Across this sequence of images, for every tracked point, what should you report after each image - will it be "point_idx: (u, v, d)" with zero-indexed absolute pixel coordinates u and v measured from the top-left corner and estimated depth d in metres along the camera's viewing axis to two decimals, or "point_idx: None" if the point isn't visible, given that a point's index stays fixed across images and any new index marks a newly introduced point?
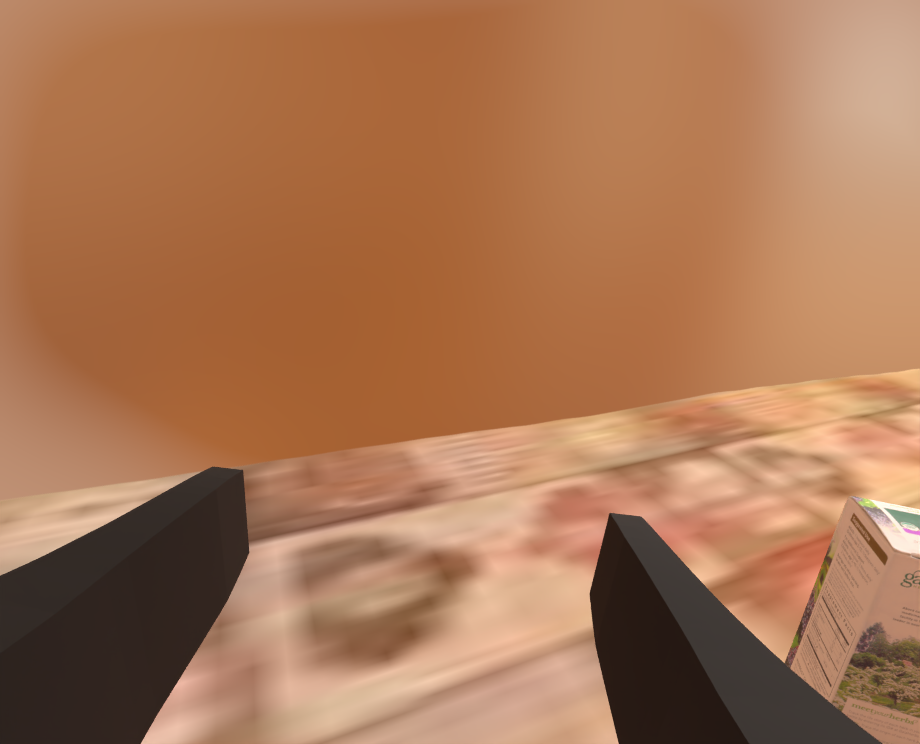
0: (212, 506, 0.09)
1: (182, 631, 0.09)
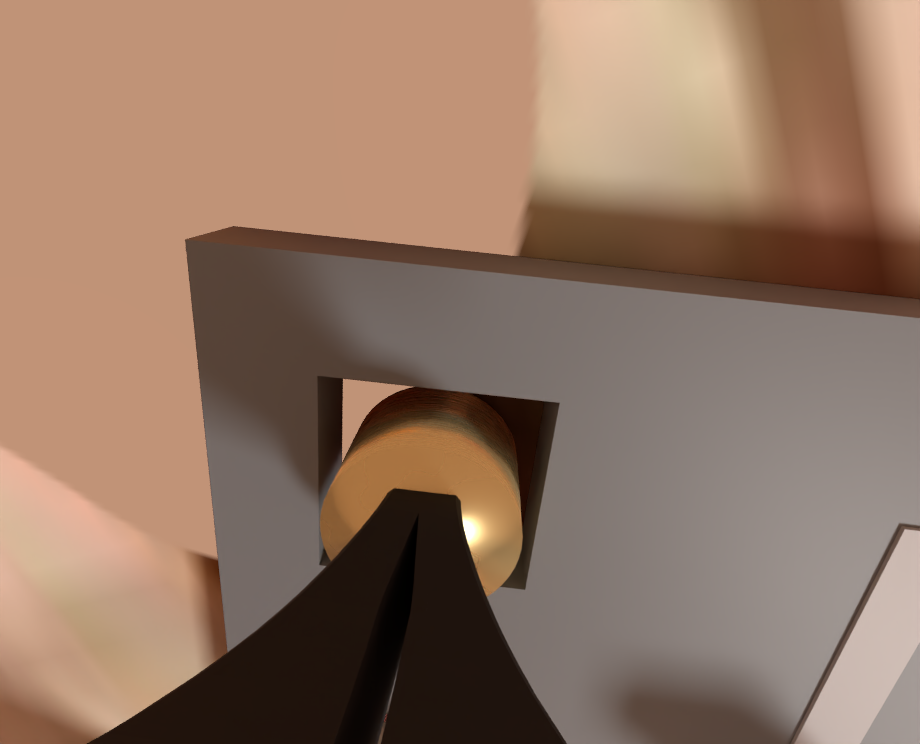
0: (416, 530, 0.09)
1: (394, 658, 0.09)
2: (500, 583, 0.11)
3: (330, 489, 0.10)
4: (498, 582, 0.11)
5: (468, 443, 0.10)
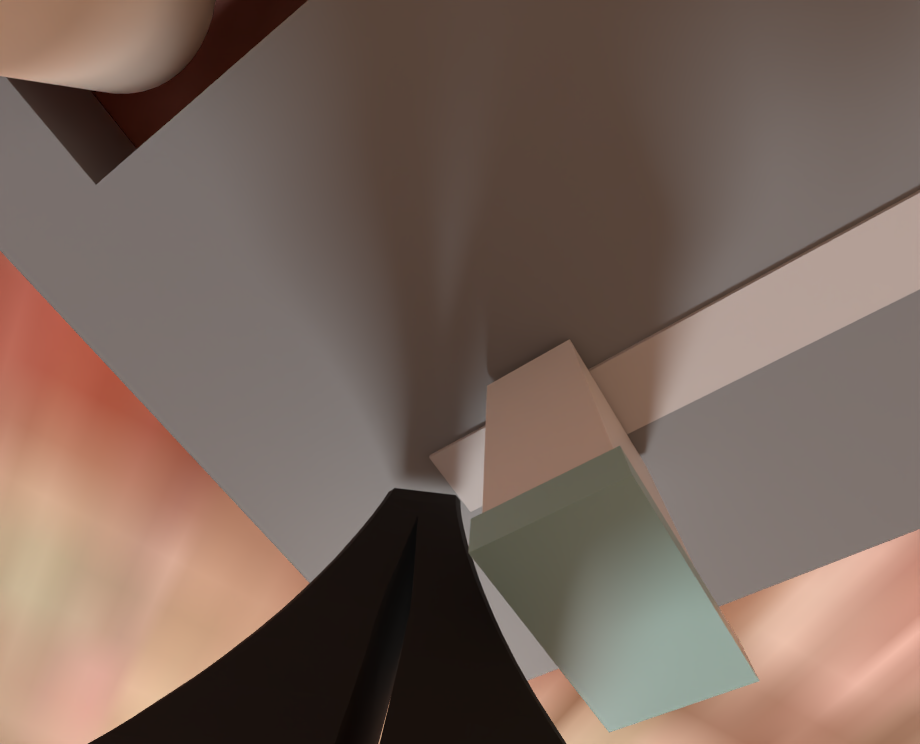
0: (416, 530, 0.09)
1: (394, 658, 0.09)
2: None
3: None
4: None
5: None
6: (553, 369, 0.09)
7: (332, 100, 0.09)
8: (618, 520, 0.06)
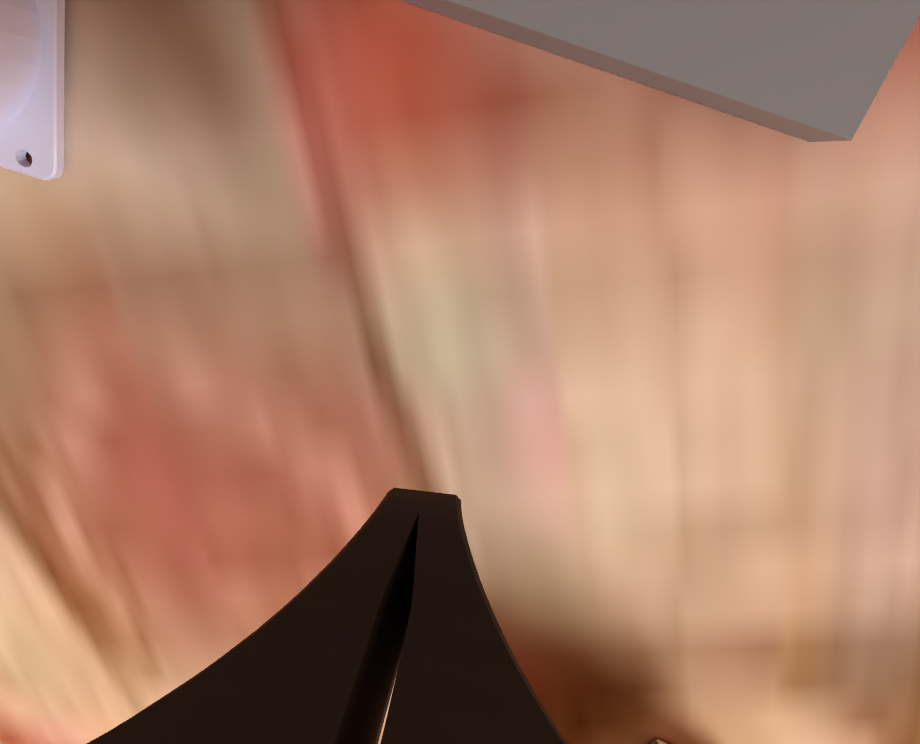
0: (415, 530, 0.09)
1: (394, 658, 0.09)
2: None
3: None
4: None
5: None
6: None
7: None
8: None
